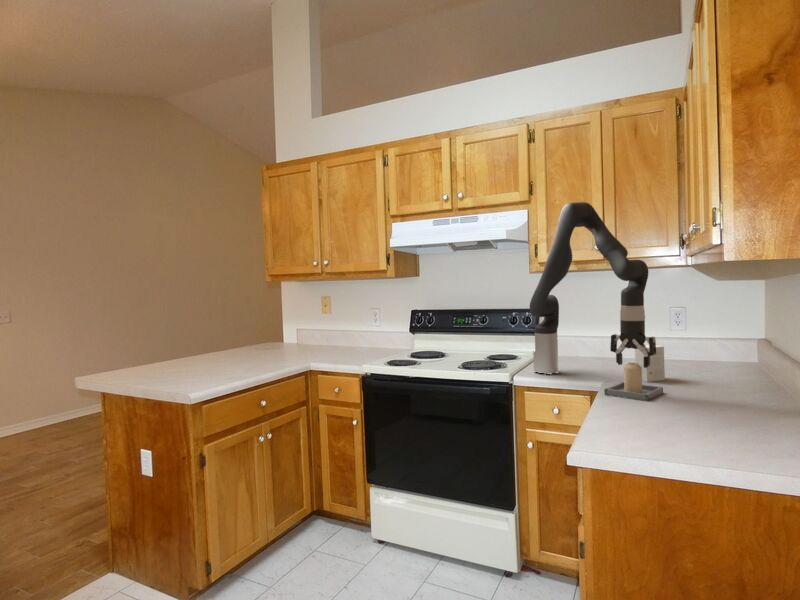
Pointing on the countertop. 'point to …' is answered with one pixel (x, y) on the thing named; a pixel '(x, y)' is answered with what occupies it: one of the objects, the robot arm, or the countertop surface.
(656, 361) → the small box
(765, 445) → the countertop surface
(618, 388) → the rest tray
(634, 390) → the candle
